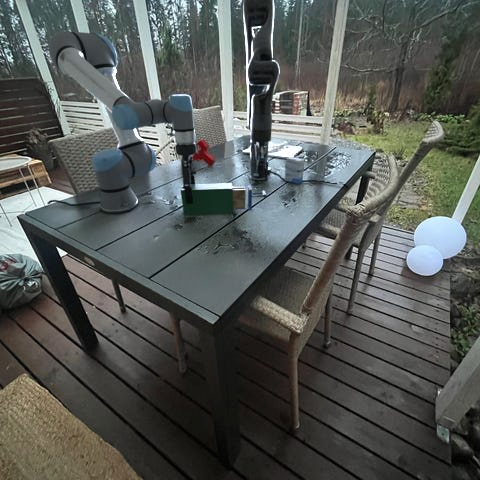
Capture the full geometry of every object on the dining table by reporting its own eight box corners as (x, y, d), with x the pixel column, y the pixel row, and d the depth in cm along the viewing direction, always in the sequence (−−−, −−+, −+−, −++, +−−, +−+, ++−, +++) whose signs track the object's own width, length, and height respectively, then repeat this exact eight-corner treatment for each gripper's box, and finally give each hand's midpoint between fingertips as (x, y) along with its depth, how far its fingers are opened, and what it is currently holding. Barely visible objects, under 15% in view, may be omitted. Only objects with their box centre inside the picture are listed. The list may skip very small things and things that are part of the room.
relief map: (291, 159, 177) (291, 151, 174) (243, 153, 190) (243, 145, 187) (302, 149, 197) (303, 142, 194) (258, 144, 211) (258, 137, 208)
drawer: (264, 204, 117) (265, 184, 112) (266, 209, 113) (267, 189, 108) (205, 206, 116) (204, 186, 111) (205, 211, 112) (203, 191, 107)
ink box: (302, 181, 142) (305, 159, 136) (297, 184, 139) (300, 161, 133) (289, 177, 147) (291, 156, 141) (284, 180, 144) (285, 158, 138)
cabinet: (232, 207, 118) (232, 183, 112) (233, 213, 113) (232, 188, 107) (185, 208, 117) (182, 184, 111) (183, 215, 112) (180, 190, 106)
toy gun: (219, 159, 165) (203, 138, 161) (216, 161, 162) (200, 139, 158) (199, 174, 175) (184, 155, 171) (196, 176, 172) (181, 156, 168)
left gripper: (179, 135, 109) (185, 185, 121) (169, 151, 88) (178, 210, 100) (197, 135, 110) (202, 184, 121) (192, 151, 89) (198, 209, 100)
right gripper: (249, 123, 103) (248, 168, 113) (252, 130, 92) (251, 179, 101) (268, 123, 104) (266, 167, 113) (274, 130, 92) (271, 179, 102)
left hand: (191, 196), depth 111 cm, fingers open, 13 cm apart
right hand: (259, 173), depth 107 cm, fingers closed
